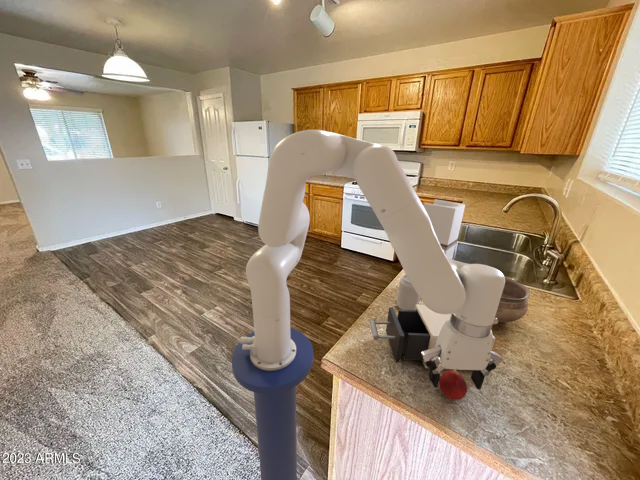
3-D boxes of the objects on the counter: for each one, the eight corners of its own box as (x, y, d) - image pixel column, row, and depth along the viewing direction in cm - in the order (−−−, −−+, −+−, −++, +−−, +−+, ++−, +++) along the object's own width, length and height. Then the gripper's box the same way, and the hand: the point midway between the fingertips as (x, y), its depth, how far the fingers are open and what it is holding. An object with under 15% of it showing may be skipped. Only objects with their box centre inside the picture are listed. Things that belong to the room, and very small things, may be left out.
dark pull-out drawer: (372, 361, 71) (376, 334, 68) (366, 330, 82) (369, 306, 79) (450, 365, 70) (457, 338, 67) (432, 332, 82) (437, 308, 79)
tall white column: (447, 285, 112) (465, 204, 99) (437, 294, 105) (455, 208, 92) (421, 275, 119) (435, 199, 107) (410, 284, 112) (423, 203, 100)
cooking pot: (514, 347, 78) (527, 313, 74) (448, 318, 90) (456, 287, 86) (526, 311, 96) (537, 282, 91) (470, 291, 108) (477, 264, 103)
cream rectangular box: (425, 368, 70) (432, 335, 66) (410, 333, 83) (415, 304, 79) (485, 371, 70) (495, 338, 66) (460, 335, 83) (468, 306, 79)
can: (414, 315, 91) (420, 285, 87) (393, 308, 95) (397, 279, 91) (419, 305, 97) (425, 276, 93) (399, 299, 101) (403, 271, 97)
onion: (466, 397, 63) (474, 371, 60) (457, 413, 59) (465, 386, 56) (442, 381, 66) (448, 357, 64) (432, 395, 63) (438, 370, 60)
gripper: (501, 312, 58) (483, 371, 64) (422, 310, 59) (411, 368, 65) (524, 335, 51) (502, 399, 57) (435, 333, 52) (422, 396, 58)
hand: (454, 383), depth 61 cm, fingers open, 9 cm apart
